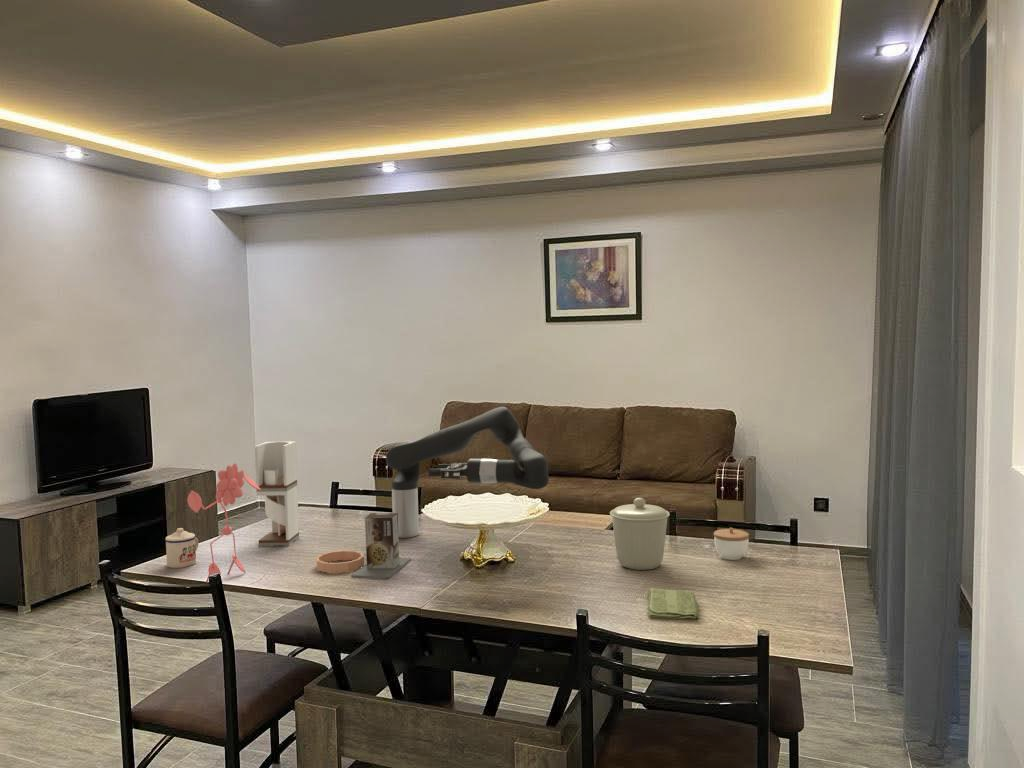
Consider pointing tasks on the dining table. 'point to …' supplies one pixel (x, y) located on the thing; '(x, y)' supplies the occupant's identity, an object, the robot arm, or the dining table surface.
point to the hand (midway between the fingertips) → (433, 470)
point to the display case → (278, 490)
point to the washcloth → (672, 604)
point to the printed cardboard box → (382, 540)
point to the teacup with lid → (181, 549)
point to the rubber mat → (380, 571)
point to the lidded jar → (731, 543)
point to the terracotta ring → (343, 566)
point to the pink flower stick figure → (229, 491)
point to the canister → (639, 534)
